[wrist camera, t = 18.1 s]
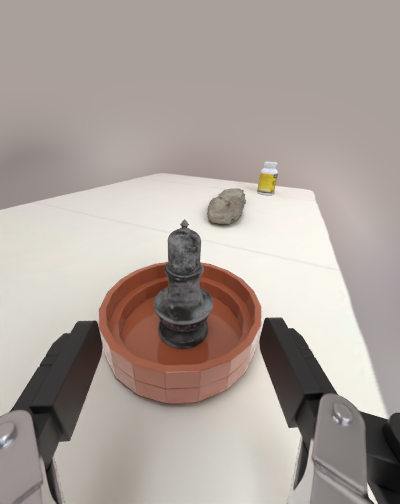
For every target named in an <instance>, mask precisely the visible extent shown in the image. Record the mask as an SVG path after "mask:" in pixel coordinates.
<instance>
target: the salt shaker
mask: <svg viewBox="0 0 400 504" xmlns="http://www.w3.org/2000/svg"><path fill="white" fill-rule="evenodd" d="M180 225H181V226H182V228H180V229H177V230H175V231H173V232H172V233H171V234H170V235H169V237H168V263H167V264H166V265H165V267H164V272H165V274H166V275H167V276H168V287H167V288H165V289H163V290H162V291H160V292H159V293H158V294H157V295H156V297H155V299H154V304H153V307H154V310H155V313H156V314H157V315H158V317H159V319H160V320H161V321H160V323H159V326H158V333H159V336H160V338H161V340H162V341H163V342H164V343H165V344H167V345H168V346H171V347H173V348H178V349H188V348H192V347H195V346H197V345H199V344H200V343H202V341H203V340H204V339H205V338H206V336H207V334H208V324H207V321H206V319H207V317H208V316H209V314H210V313H211V311H212V309H213V299H212V297H211V295H210V294H209V293H208V292H207V291H206V290H205V289H203V288H201V287H200V276H201V275H202V274H203V272H204V268H203V266H202V265H201V264H200V252H201V239H200V236H199V235H198V234H197V233H196V232H194V231H193V230H190V229H189V228H187V226H188V225H189V224H188V223H187V221H186V220H184V221H183V222H182V223H181V224H180Z"/></svg>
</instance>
